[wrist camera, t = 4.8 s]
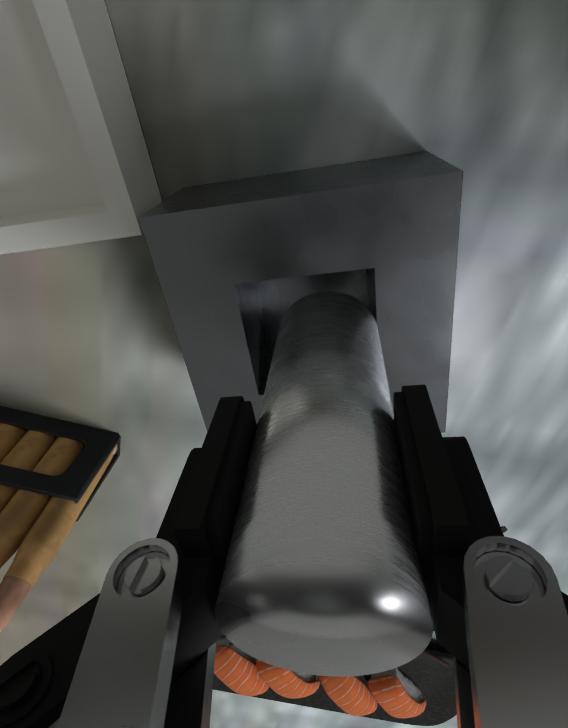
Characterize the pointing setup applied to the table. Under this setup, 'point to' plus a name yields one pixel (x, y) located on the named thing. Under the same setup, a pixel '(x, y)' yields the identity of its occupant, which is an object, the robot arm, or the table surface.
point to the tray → (67, 129)
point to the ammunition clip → (44, 492)
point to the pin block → (311, 267)
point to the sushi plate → (348, 686)
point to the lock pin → (325, 508)
